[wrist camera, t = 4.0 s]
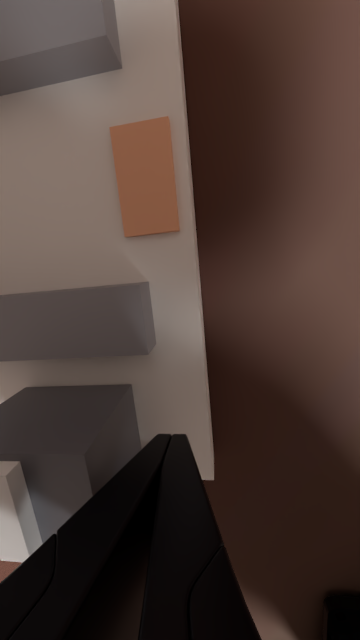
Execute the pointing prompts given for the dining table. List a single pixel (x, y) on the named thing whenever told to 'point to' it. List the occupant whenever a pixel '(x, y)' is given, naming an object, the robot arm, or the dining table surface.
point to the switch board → (101, 211)
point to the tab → (58, 457)
